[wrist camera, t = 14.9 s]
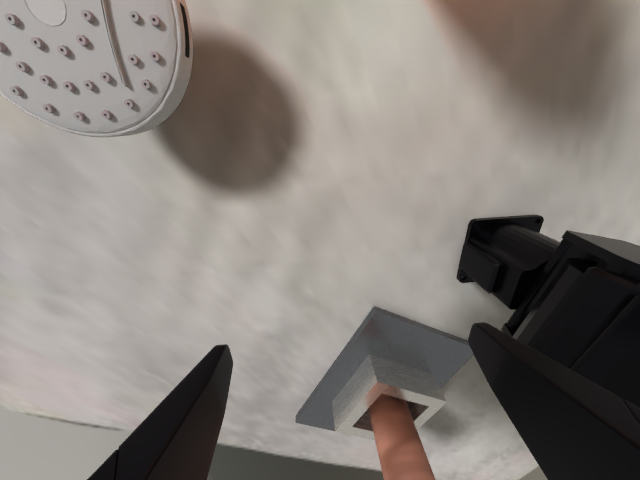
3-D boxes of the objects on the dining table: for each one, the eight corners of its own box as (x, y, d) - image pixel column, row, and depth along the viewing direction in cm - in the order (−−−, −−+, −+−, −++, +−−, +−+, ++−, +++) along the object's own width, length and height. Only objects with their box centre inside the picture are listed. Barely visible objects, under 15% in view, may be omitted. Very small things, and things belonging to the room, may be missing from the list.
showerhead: (-271, -283, 6) (144, -188, 7) (25, -71, 13) (220, -36, 14) (-67, 123, 10) (184, 148, 11) (80, 125, 17) (228, 141, 18)
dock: (374, 306, 25) (386, 336, 21) (474, 343, 28) (499, 375, 25) (295, 415, 32) (294, 452, 28) (383, 435, 35) (392, 470, 32)
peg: (390, 371, 28) (453, 545, 16) (405, 390, 30) (471, 561, 18) (357, 385, 29) (394, 563, 17) (373, 403, 31) (417, 576, 19)
